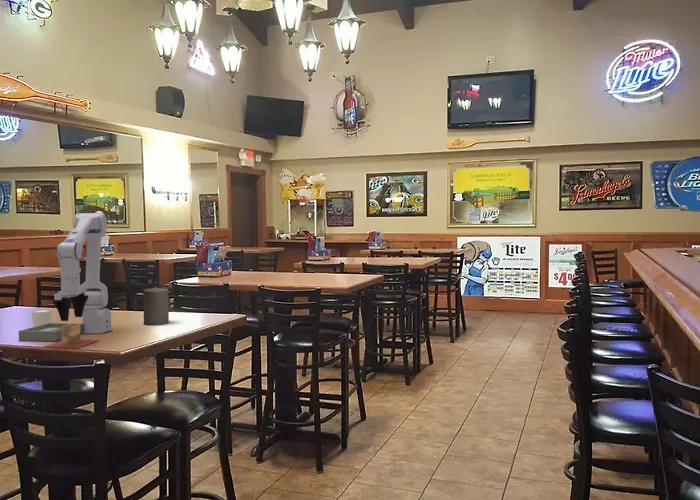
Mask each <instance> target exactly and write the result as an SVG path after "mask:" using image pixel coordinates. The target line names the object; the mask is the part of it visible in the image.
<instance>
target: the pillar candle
mask: <svg viewBox="0 0 700 500" xmlns="http://www.w3.org/2000/svg"><path fill="white" fill-rule="evenodd" d="M142 296H143V297H142V298H143V325H145V326H163V325H167V323H168V324H169V321H170V317H169V316H170V315H169V306H170V305H169V289H168V288H163V287H162V288H161V287H160V288H159V287H157V286H156V285H155V287H151V288H145V289H143V294H142Z"/></svg>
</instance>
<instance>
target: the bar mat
mask: <svg viewBox="0 0 700 500" xmlns="http://www.w3.org/2000/svg"><path fill="white" fill-rule="evenodd" d="M97 342H100V340H99V339H81V342H79V343H76V344H62V340H61V341H58V342H52V343H50V344H47V345H44V347H43V348H45V349H49V348H50V349H81V348H83V347H84V348H85V347H87V346H90V345H91V344H95V343H97Z"/></svg>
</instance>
